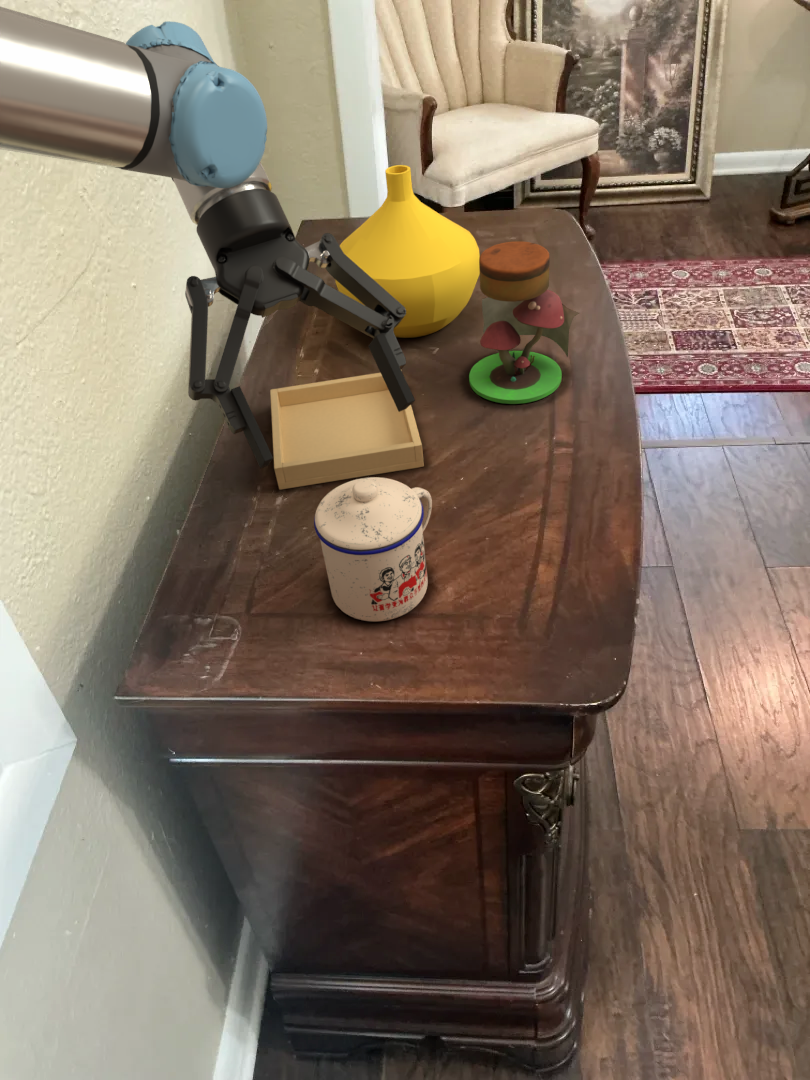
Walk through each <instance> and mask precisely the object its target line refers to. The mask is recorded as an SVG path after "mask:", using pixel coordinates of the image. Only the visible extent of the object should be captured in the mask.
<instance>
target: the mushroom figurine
mask: <svg viewBox="0 0 810 1080" xmlns="http://www.w3.org/2000/svg"><path fill="white" fill-rule="evenodd" d="M479 255H480V258H479V269H480V274H479V289H480V291H481V293H482V294H483V295H484V296H486V297H485V298H483V299H481V306H482V309H481V310H482V311H481V312H482V319H483V327H482V328H483V330H482V336H481V337H480V338H481V339H480V340H479V344H480V346H481V347H482V348H485V349H489V350H494V351H497V353H493V354H491V355H487V356H486V357H483V358H482V359H480V360H478V361H477V362H476V363H475V364H474V365H473V366H472V367H471V369H470V371H469V373H468V374H469V375H468V381H469V386H470V388H471V389H472V391H473V392H474V393H475V394H476V395H478V396H479V397H481V398H482V399H485V400H487V401H491V402H495V403H498V404H507V405H520V404H529V403H532V402H536V401H539V400H542V399H545V398H546V397H548V396H550V395H552V394H553V393H554V392H555V391H557V389H558V388H559V387H560V386H561V382H562V376H563V375H562V373H563V372H562V369H561V367H560V365H559V364H558V363H557V362H556V361H555V360H554V359H553V358H551V357H549V356H547V355H544V354H542V353H539V352H534V351H532V348H533V346H534V345H536V344H537V343H538V342H539V340H540V339H541V338H542V337H544V338H548V339H550V340H552V341H553V342H554V343H555V344H557V345H558V346H559V348H561V350H562V351H563V352H564V354H565V356H566V357H567V358H569V338H570V329H571V325H572V323H573V321H574V318H575V317H576V316H578V315H580V312H578V311H576V310H573V309H572V308H570V307H567V306H566V305H565V304H563V302H562V299H561V298H560V296H559V294H557V293H556V292H554V291H552V290H551V289H549V287H550V261H551V260H550V252H549V251H548V249H546V248H545V247H544V246H542V245H540V244H537V243H534V242H530V241H522V240H521V241H506V242H500V243H497V244H494V245H492V246H489V247H488V248H486V249H484V251H482V252H481V254H479ZM521 336H533V337H532V339H531V340H529V341H528V342H527V343H526V345H525V346H524V348H523V350H513V349H515V348H517V347H518V346H519V345H520V344H521V342H522V340H521Z"/></svg>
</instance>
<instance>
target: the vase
mask: <svg viewBox="0 0 810 1080" xmlns="http://www.w3.org/2000/svg"><path fill="white" fill-rule="evenodd" d="M411 171H412V169H411V167H410V166H409V165H407V164H406V165H405V164H398V165H392V166H388V167H386V169H385V172H384V173H385V181H386V190H387V191H386V198H385V200H384V201H383V203H382V204H381V206H380V207H379V208H377V210H375V211H374V213H372V214H371V215H370V216H369V217H368V218H367V219H366V220H365V221H364V222H363V223H362V224H361V225H360V226H358V228H356V229H355V230H354V231H353V232H352V233H351V234H349V235H348V236H347V237H346V238H344V240H343V241H342V242H341V243H340V244H339V246H340V248H341V249H342V251H343V253H344V254H345V255H346V256H347V257H349V258H350V259H351V260H352V261H353V262H354V263H355V264H356V265H358V266H359V267H360V268H361V269H362V270H363V271H364V272H365V273H367V274H368V275H369V276H370V277H371V278H372V279H373V280H375V281H376V282H377V283H378V284H379V285H380V286H381V287H382V288H384V289H385V290H386V291H387V292H388V293H389V294H390V295H391V296H393V297H394V298H395V299H396V300H397V301H398V302H399V303H401V304H402V305H403V306H404V307H405V309H406V315H405V316H404V318H403V319H402V320H401V322H400V323H399V324H398V325H397V326H396V327H395V328H394V334H395V337H396V338H397V339H399V338H402V339H409V338H412V339H413V338H420V337H424V336H428V335H431V334H434V333H436V332H438V331H439V330H441V329H442V330H443V328H445V327H446V326H447V325H449V324H451V323H452V322H453V321H454V320H455V319H456V318H457V317H458V316H459V315H460V314H461V312H462V311H463V310H464V309H465V307H466V306H467V305H468V303H469V301H470V299H471V297H472V295H473V293H474V290H475V288H476V285H477V282H478V279H479V278H480V269H479V258H480V255H481V254H480V248H479V246H478V243H477V241H476V238H475V237H474V235H473V234H472V233H471V232H470V230H468V229H466V228H464V227H462V226H461V225H459V224H458V223H456V222H454V221H452V220H450V219H449V218H447V217H445V216H444V215H442V214H440V213H438V212H437V211H435V210H434V209H433V208H431V207H430V206H428V205H427V204H425V203H423V202H421V200H420V199H419V198H418V197H417V196H416V195H415V193H414V190H413V182H412V172H411ZM334 281H335V285H336V288H337V291H339V292H341V293H343V294H345V295H347V296H348V297H350V298H352V299H354V300H356V301H357V302H359V303H361V304H363V303H362V302H361V301H360V300H358V299H357V298H356V297H355V296H354V295H353V294H352V293H350V292H349V291H348V290H347V289H346V288H345V287H344V286H342V285H341V284H340V283H339V282H338V281H337V280H336V279H334ZM363 305H364V304H363Z"/></svg>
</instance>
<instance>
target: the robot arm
mask: <svg viewBox="0 0 810 1080" xmlns="http://www.w3.org/2000/svg"><path fill="white" fill-rule="evenodd" d="M267 133H268V118H267V113H266V109H265V105H264V103H263V100H262V97H261V96H260V94H259V92H258V90H257V89H256V87H255V86H254V84H253V83H252V82H250V80H249V79H248V78H247V77H245V76H244V75H243V74H242V73H241V72H238V71H237V70H234V69H232V68H228V67H223V66H220V65H218V64H217V63H216V62H215V61H214V58H213V57H212V55H211V54H210V52H209V50H208V48H207V46H206V45H205V43H204V41H203V39H202V37H201V36H200V35H199V33H198V32H197V31H196V30H194V29H193V28H192V27H191V26H189V25H187V24H185V23H182V22H178V21H170V20H169V21H168V20H167V21H163V22H162V23H161V24H160V25H157V26H155V25H153V24H149V25H147V26H145V27H142V28H141V29H139V30H138V31H136V32H134V34H133V35H131V36H130V38H128V40H127V41H126V42H124V41H121V40H117V39H113V38H110V37H108V36H107V37H106V36H103V35H100V34H97V33H93V32H89V31H86V30H83V29H80V28H75V27H72V26H69V25H65V24H62V23H59V22H54V21H52V20H48V19H45V18H41V17H38V16H34V15H30V14H28V13H27V14H26V13H25V12H20V11H18V10H14V9H10V8H6V7H3V6H0V150H3V151H8V152H16V153H20V154H21V153H22V154H27V155H34V156H41V157H47V158H52V159H54V158H55V159H59V160H65V161H71V162H78V163H83V164H90V165H95V166H96V165H97V166H103V167H109V168H115V169H120V170H124V171H129V172H135V173H141V174H146V175H147V174H148V175H153V176H154V175H155V176H160V177H166V178H170V179H171V180H172V182H174V185H175V188H176V189H177V191H178V194H179V196H180V198H181V200H182V203H183V205H184V207H185V209H186V212H187V214H188V216H189V219H190V220H191V221H192V223H193V224H195V225H196V233H197V236H198V239H199V240H200V242H201V244H202V247H203V249H204V251H205V254H206V255H207V257H208V259H209V262H210V264H211V266H212V268H213V270H214V274H215V276H212V277H207V278H203V279H201V278H199V277H198V276H196V275H191V276H188V277H187V278H186V284H185V290H184V295H185V299H186V302H187V305H188V309H189V311H190V315H191V319H190V321H191V323H190V339H189V340H190V343H189V366H188V367H189V368H188V387H187V388H188V389H187V390H188V391H187V395H188V397H189V398H190V399H191V400H192V401H199V400H202V399H203V400H207V399H208V400H212V401H213V402H214V403H216V404H217V405H216V406H217V407H218V408H219V412H220V413H221V416H222V417H223V420H224V422H225V423H226V426H227V429H228V430H229V432H231V433H232V434H233V435H236V434H239V433H242V432H243V434H244V436H245V438H246V441H247V443H248V445H249V447H250V449H251V452H252V453H253V456H254V458H255V461H256V462H257V464H258V467H259V468H260V469H262V468H263V469H264V468H265V467H268V466H269V465H270V464H271V462H272V461H273V460H274V456H273V453H272V452H271V450H270V448H269V446H268V443H267V442H266V438H265V437H264V435H263V433H262V430H261V428H260V426H259V424H258V422H257V420H256V418H255V416H254V414H253V412H252V410H251V407H250V405H249V403H248V401H247V399H246V397H245V394H244V392H243V390H242V388H241V386H240V385H239V386H236V387H234V388H230V384H231V380H232V377H233V374H234V370H235V368H236V364H237V361H238V357H239V354H240V350H241V347H242V344H243V340H244V337H245V334H246V331H247V327H248V324H249V321H250V318H251V314H252V315H254V316H256V317H257V316H258V317H261V318H263V319H264V318H266V317H268V316H271V315H272V314H274V313H275V312H277V311H281V310H282V311H284V310H289V309H292V308H295V306H296V304H297V303H298V302H301V303H302V304H304V305H306V306H309V307H314V308H317V309H318V310H320V311H321V312H323V313H326V314H328V315H329V316H332V317H334V318H335V319H337V320H339V321H340V322H342V323H344V324H345V325H348V326H350V327H351V328H354V329H355V330H356V331H359V332H361V333H362V334H364V335H366V336H369V337H370V338H372V340H371V342H370V343H369V344H368V347H367V348H368V349H369V351H370V353H371V355H372V357H373V359H374V362H375V364H376V366H377V368H378V370H379V373H381V375H382V377H383V379H384V381H385V383H386V385H387V388H388V390H389V392H390V394H391V396H392V398H393V400H394V403H395V405H396V407H397V409H398V411H399V412H400V411H402V410H405V409H407V408H408V407H409V406H410V405H411V406H412V404H413V403H414V402H415V401H416V399H415V397H414V394H413V392H412V391H411V389H410V386H409V384H408V382H407V380H406V378H405V376H404V373H403V368H404V367H405V366H406V365H407V360H406V359H407V358H406V356H405V354H404V352H403V350H402V348H401V345H400V343H399V341H398V338H397V337H395V334H394V328H395V327H396V326H397V325H398V324H399V323H400V322H401V320H402V319H403V318H404V316H405V315H406V309H405V307H404V306H403V305H402V304H401V303H399V302H398V301H397V300H396V299H395V298H394V297H393V296H391V295H390V294H389V293H388V292H387V291H386V290H385V289H384V288H382V287H381V286H380V285H379V284H378V283H377V282H376V281H375V280H373V279H372V278H371V277H370V276H369V275H368V274H367V273H365V272H364V271H363V270H362V269H361V268H360V267H359V266H358V265H356V264H355V263H354V262H353V261H352V260H351V259H350V258H349V257H347V256H346V255H345V254H344V253H343V251H342V249H341V248H340V244H339V243H338V241H337V239H336V238H335V236H334V235H333V234H332V233H330V232H325V233H323V234H322V236H321V238H320V240H319V241H317V242H314V243H312V244H310V245H308V246H305V247H304V246H303V245H302V244H301V243H300V242H299V241H298V239H297V238H296V237H295V233H294V231H293V229H292V226H291V224H290V221H289V220H288V218H287V215H286V213H285V211H284V209H283V207H282V205H281V202H280V200H279V198H278V196H277V194H275V193H274V192H273V191H272V189H273V187H272V182H271V181H270V179H269V176H268V174H267V172H266V170H265V168H264V165H263V164H262V162H261V161H262V159H263V156H264V154H265V150H266V142H267ZM310 263H314V264H316V265H317V267H318V268H319V269H326V271H327V273H328V274H329V275H330V276H331V277H332V278H333V279H334V280H335V279H336V280H337V281H338V282H339V283H340V284H341V285H342V286H344V287H345V288H346V289H347V290H348V291H349V292H350V293H352V294H353V295H354V296H355V297H356V298H357V299H358V300H360V301H361V302H362V303H363V304H364V305H363V304H361V303H359V302H357V301H356V300H354V299H352V298H350V297H348V296H347V295H345V294H343V293H341V292H339V290H338V289H336V288H335V287H332V286H330V285H328V284H327V283H325V281H324V279H323V278H322V277H320V276H318V275H316V274H315V273H313V272H310V271H309V265H310ZM217 293H219V294H220V295H221V296H222V297H224V298H226V299H227V300H229V301H230V302H232V303H234V304H235V305H237V306H236V310H235V313H234V316H233V319H232V323H231V326H230V329H229V332H228V336H227V338H226V342H225V344H224V345H225V346H224V348H223V352H222V355H221V358H220V361H219V364H218V368H217V371H216V375H215V378H213V379H208V378H207V379H206V371H207V349H208V347H207V346H208V326H209V325H208V323H209V307H211V306H212V305H213V303H214V300H215V294H217ZM401 370H402V371H401Z"/></svg>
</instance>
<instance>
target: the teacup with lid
mask: <svg viewBox="0 0 810 1080" xmlns="http://www.w3.org/2000/svg"><path fill="white" fill-rule="evenodd" d="M432 508H433V500H432V496H431V493H430V492H429V491H428V490H427V489H424V488H422V487H417V486H416V487H412V488H410V487H409V486H408V485H407V484H405V483H402V482H401V481H398V480H395V479H392V478H387V477H379V476H378V477H377V476H376V477H375V476H370V477H360V478H356V479H353V480H350V481H347V482H344V483H342V484H340V485H338V486H336V487H335V488H333V489H331V490H330V491H329V492H328V493H326V495H325V496H324V497H323V498H322V499H321V500H320V502H319V504H318V506H317V508H316V510H315V514H314V518H313V526H314V527H313V528H314V531H315V533H316V535H317V537H318V538H319V541H320V546H321V549H322V550H321V551H322V556H323V560H324V565H325V569H326V574H327V579H328V583H329V584H328V585H329V588H330V593H331V597H332V599H333V602H334V603H335V605H336V606H337V608H338V609H340V610H341V612H343V613H344V614H345V615H348V616H349V617H351V618H353V619H356V620H361V621H365V622H385V621H390V620H394V619H397V618H399V617H402V616H404V615H406V614H408V613H409V612H411V611H412V610H414V608H416V607H417V606H418V605H419V604H420V603H421V601H422V600H423V599H424V597H425V594H426V593H427V589H428V584H429V583H428V581H429V580H428V570H427V560H426V559H427V558H426V550H425V540H424V531H425V530H426V528H427V526H428V523H429V521H430V518H431V514H432Z"/></svg>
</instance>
